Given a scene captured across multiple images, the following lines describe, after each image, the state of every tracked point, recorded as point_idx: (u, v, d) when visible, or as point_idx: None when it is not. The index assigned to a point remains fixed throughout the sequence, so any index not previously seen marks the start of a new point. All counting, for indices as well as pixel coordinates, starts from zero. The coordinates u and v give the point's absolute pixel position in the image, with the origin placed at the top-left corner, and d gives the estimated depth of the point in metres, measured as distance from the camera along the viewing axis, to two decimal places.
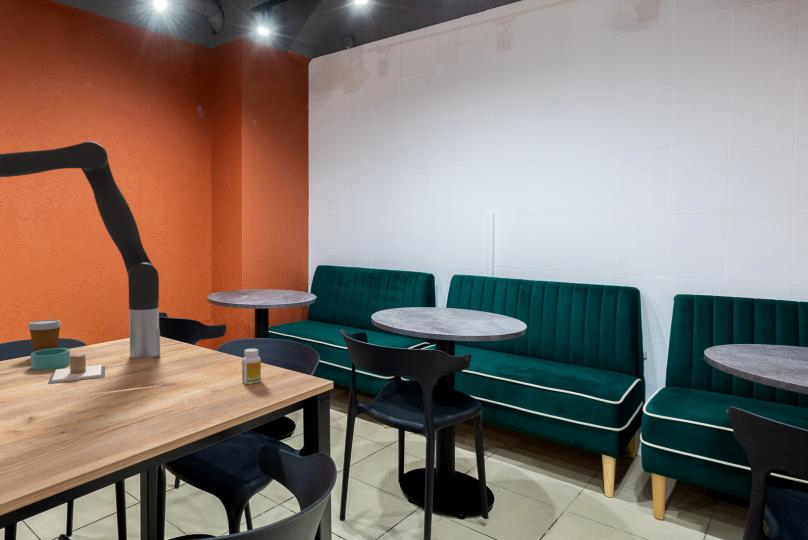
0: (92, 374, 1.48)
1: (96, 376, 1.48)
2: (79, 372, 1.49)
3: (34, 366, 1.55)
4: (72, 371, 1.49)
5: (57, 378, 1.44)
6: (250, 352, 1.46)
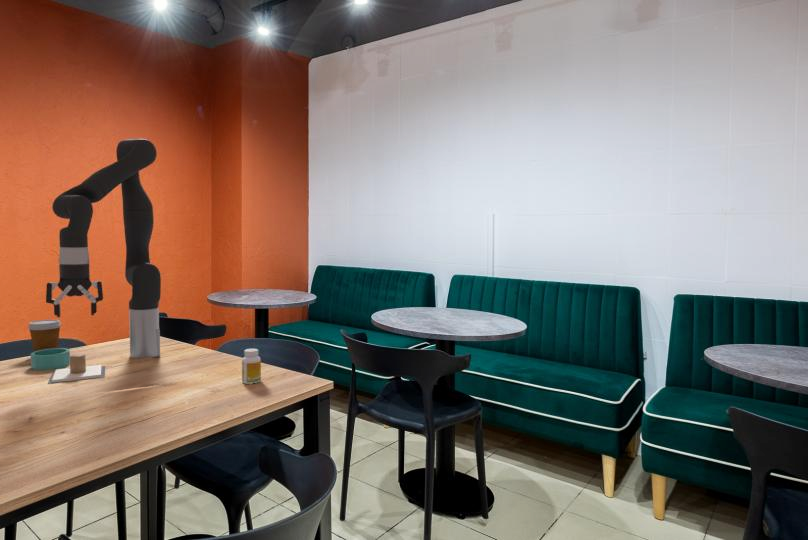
0: (92, 374, 1.48)
1: (96, 376, 1.48)
2: (79, 372, 1.49)
3: (34, 366, 1.55)
4: (72, 371, 1.49)
5: (57, 378, 1.44)
6: (250, 352, 1.46)
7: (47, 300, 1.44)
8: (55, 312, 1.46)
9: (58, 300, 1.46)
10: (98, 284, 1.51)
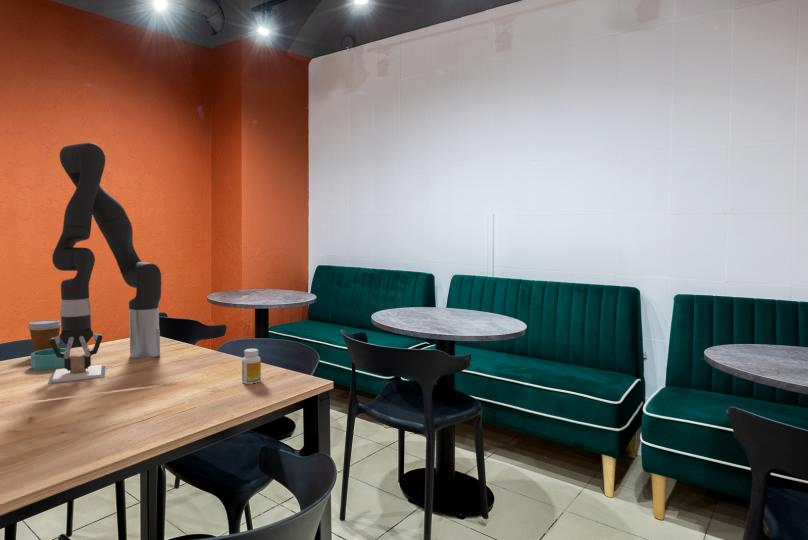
0: (92, 374, 1.48)
1: (96, 376, 1.48)
2: (79, 372, 1.49)
3: (34, 366, 1.55)
4: (72, 371, 1.49)
5: (57, 378, 1.44)
6: (250, 352, 1.46)
7: (57, 355, 1.47)
8: (65, 366, 1.48)
9: (66, 354, 1.48)
10: (99, 338, 1.52)
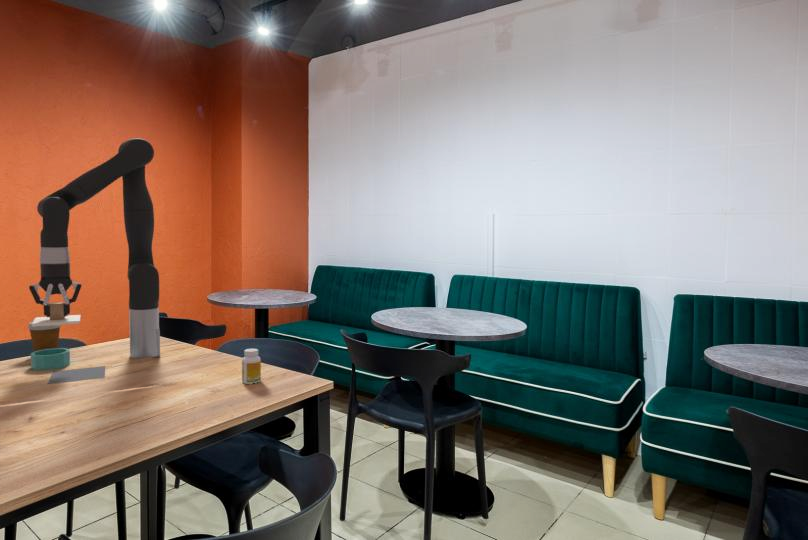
0: (71, 320, 1.53)
1: (75, 322, 1.53)
2: (58, 319, 1.54)
3: (34, 366, 1.55)
4: (51, 318, 1.53)
5: (36, 323, 1.48)
6: (250, 352, 1.46)
7: (37, 301, 1.51)
8: (45, 312, 1.53)
9: (46, 300, 1.52)
10: (78, 286, 1.56)
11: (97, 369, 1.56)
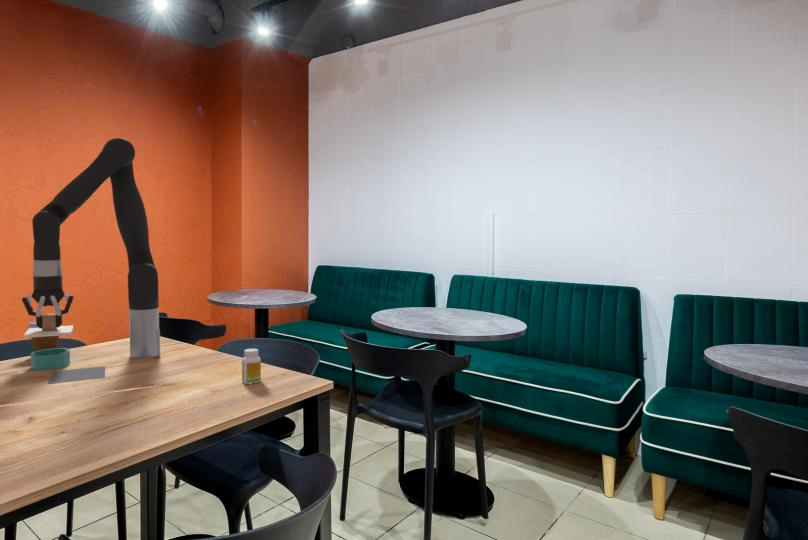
0: (62, 332, 1.56)
1: (66, 333, 1.56)
2: (50, 330, 1.57)
3: (34, 366, 1.55)
4: (43, 329, 1.57)
5: (28, 334, 1.52)
6: (250, 352, 1.46)
7: (29, 312, 1.55)
8: (37, 324, 1.56)
9: (38, 312, 1.56)
10: (69, 298, 1.60)
11: (97, 369, 1.56)
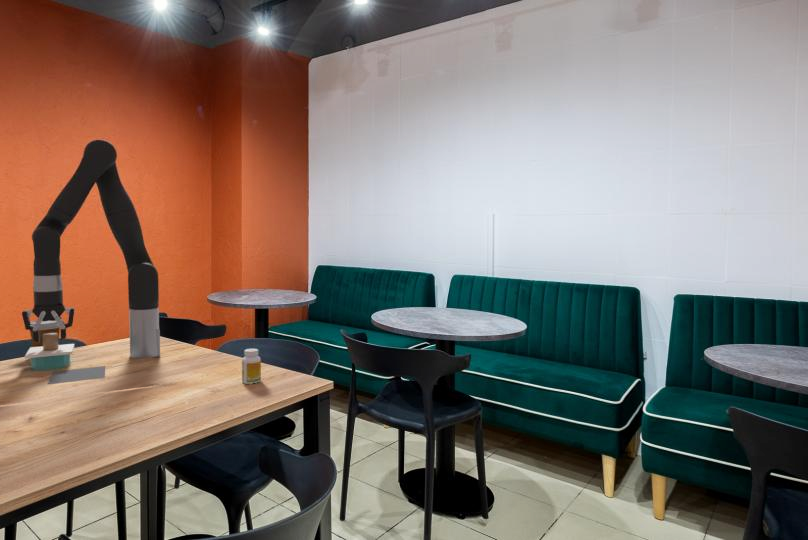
0: (64, 351, 1.57)
1: (67, 353, 1.57)
2: (51, 349, 1.58)
3: (34, 366, 1.55)
4: (45, 348, 1.57)
5: (30, 354, 1.52)
6: (250, 352, 1.46)
7: (26, 327, 1.54)
8: (34, 338, 1.56)
9: (36, 326, 1.56)
10: (71, 311, 1.60)
11: (97, 369, 1.56)
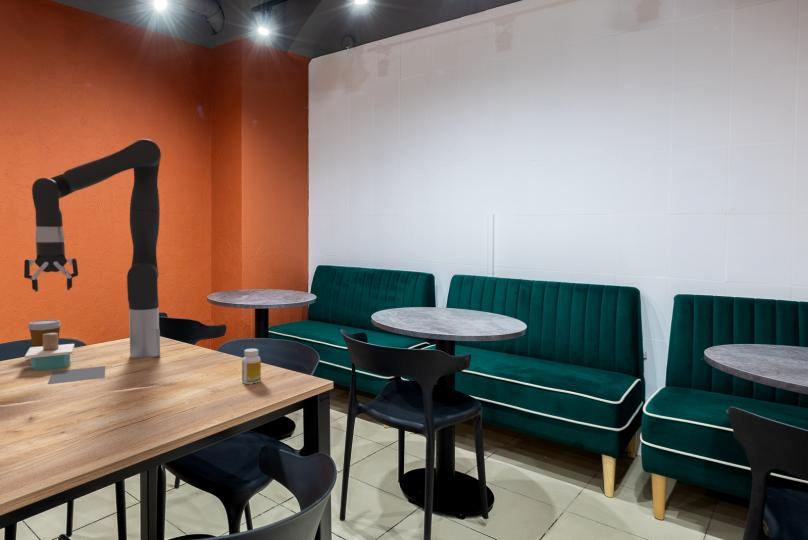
0: (64, 351, 1.57)
1: (67, 353, 1.57)
2: (51, 349, 1.58)
3: (34, 366, 1.55)
4: (45, 348, 1.57)
5: (30, 354, 1.52)
6: (250, 352, 1.46)
7: (25, 275, 1.56)
8: (33, 287, 1.58)
9: (35, 275, 1.58)
10: (73, 261, 1.63)
11: (97, 369, 1.56)
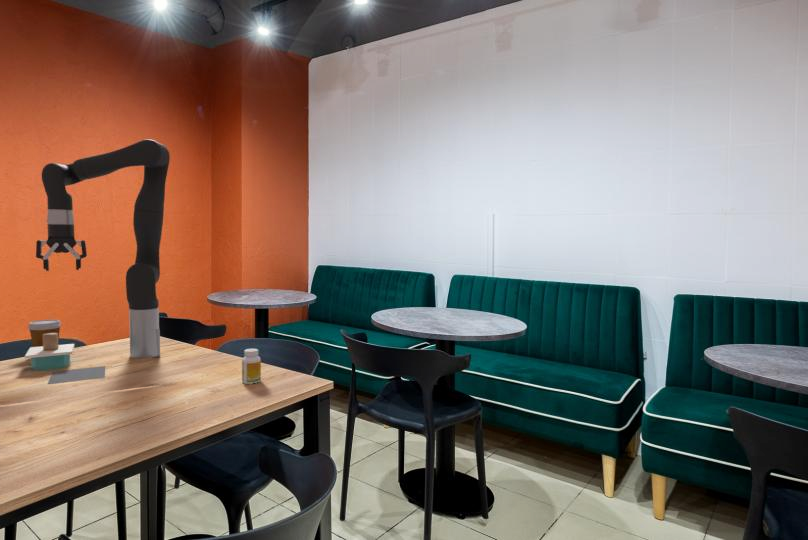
0: (64, 351, 1.57)
1: (67, 353, 1.57)
2: (51, 349, 1.58)
3: (34, 366, 1.55)
4: (45, 348, 1.57)
5: (30, 354, 1.52)
6: (250, 352, 1.46)
7: (37, 255, 1.66)
8: (44, 266, 1.67)
9: (46, 255, 1.67)
10: (82, 243, 1.72)
11: (97, 369, 1.56)
